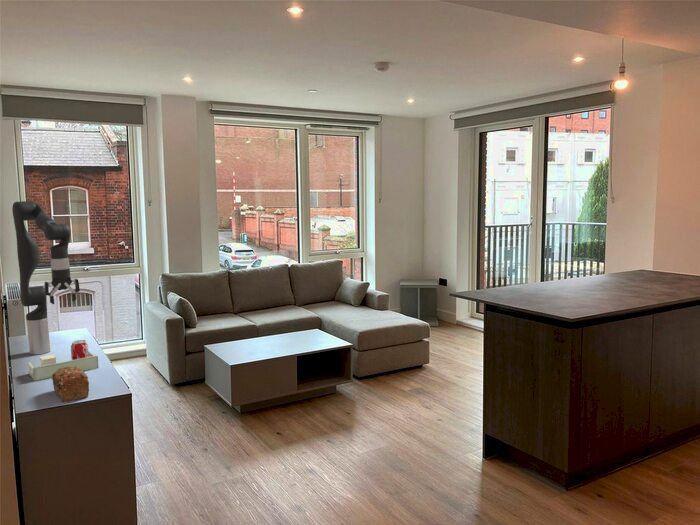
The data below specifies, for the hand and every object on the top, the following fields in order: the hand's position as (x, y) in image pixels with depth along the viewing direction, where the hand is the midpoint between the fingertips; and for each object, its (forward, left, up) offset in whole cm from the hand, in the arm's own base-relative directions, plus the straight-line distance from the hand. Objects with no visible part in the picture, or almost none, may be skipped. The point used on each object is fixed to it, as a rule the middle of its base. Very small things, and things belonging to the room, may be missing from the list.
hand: (63, 302), depth 256 cm
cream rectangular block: (+13, -10, -29) cm, 33 cm away
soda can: (+13, +3, -29) cm, 32 cm away
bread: (+47, -9, -29) cm, 56 cm away
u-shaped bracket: (+13, -4, -29) cm, 32 cm away
